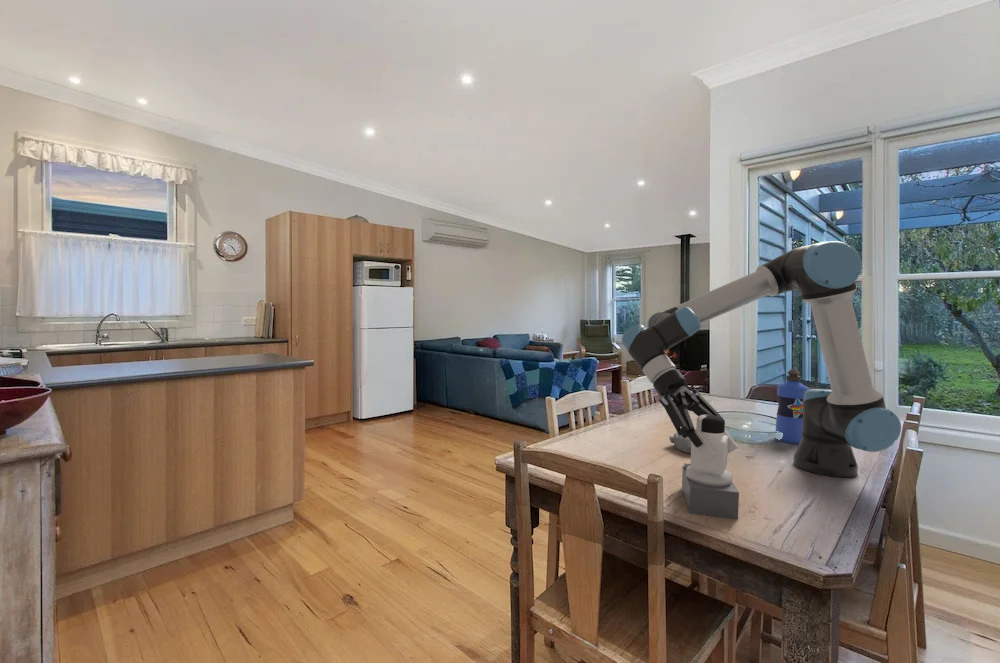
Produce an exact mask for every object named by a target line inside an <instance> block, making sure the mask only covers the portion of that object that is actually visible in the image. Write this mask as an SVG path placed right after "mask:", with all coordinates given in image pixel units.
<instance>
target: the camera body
mask: <svg viewBox="0 0 1000 663" xmlns="http://www.w3.org/2000/svg"><path fill="white" fill-rule="evenodd" d="M681 469H682V470H681V471H682V472H681V477H682V478H681V491H682V494H683V497H684V501H685V504H686V506H687V507H686V508H687V510H688V514H694V515H700V516H709V517H719V518H726V519H733V520H734V519H736V520H738V519H739V504H740V503H739V502H740V501H739V499H740V492H739V490H738V488H737V487H736V485H735V484H734V482H733V478H734V477H733V474H732V472H730V471H729V470H727V469H725V471H724V473H718V472H713V471H708V470H702V469H697V468H692V467H691V463H684V465H683V466H682V468H681Z"/></svg>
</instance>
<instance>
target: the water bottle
mask: <svg viewBox="0 0 1000 663" xmlns="http://www.w3.org/2000/svg"><path fill="white" fill-rule="evenodd" d="M800 374H801V372H800V371H799V370H797V369H796V368H795V369H794V368H792V369H789V370H788V371H787V375H785V376H786V377H785V378H786V381H785V382H783V383H780V384H778V385H777V388H776V394H777V403H778V404H777V405H778V407H777V410H776V411H777V412H776V417H775V418H776V420H775V421H776V422H775V432H776V431H779V432H782V433H783V437H782V439H780V441H779V442H781V443H785V444H790V445H791V444H792V445H799V443H800V441H801V439H802V423H803V398H804V393H805V391H807V390H809V389H810V388H809V387H808V386H807V385H804V384H802V383H801V379H802V376H800Z"/></svg>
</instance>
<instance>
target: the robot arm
mask: <svg viewBox="0 0 1000 663" xmlns="http://www.w3.org/2000/svg"><path fill="white" fill-rule="evenodd" d="M862 261H863V260H862V258H861V256H860V254H859V253H858V251H857V250H856V249H855V248H854V247H853V246H851V245H849V244H847V243H845V242H843V241H838V240H836V241H834V240H833V241H831V240H830V241H821V242H817V243H813V244H810V245H805V246H800V247H796V248H794V249H793V248H792V249H791V250H789V251H786V252H785V253H783V254H781V255H779V256H777V257H775V258H774V259H773V258H772V260H771V259H770V261H767V262H766V263H763V264H760V265H759V266H757V267H756V269H755V271H754V272H752V273H749V274H747V275H745V276H742V277H740V278H738V279H736V280H734V281H731V282H729V283H726V284H724V285H721V286H719V287H717V288H714V289H712V290H710V291H708V292H706V293H703V294H701V295H698V296H696V297H694V298H691V299H690V300H687V301H685V302H682V303H680V304H678V305H676V306H673V307H671V308H668V309H666V310H664V311H661V312H659V311H658V312H656V313H654V314H652V315H650V317H649V318H648V320H647V323H646V326H647V327H646V326H644V325H643V324H636V325H635V326H634V325H633V326H631V327H629V328H628V329H627V330H626V331H625V332H624V333H623V334H622V336H621V343H622V345H623V346H624V347H625V350H626V351H627V353H628V354H629V356H630V357H631V358H632V359H633V360H634V362H635V363H636V364H637V366H638V368H639V369H640V370H641V371H642V373H643V374H644V375H645V377H646V378H647V379H648V381H649V383H650V384H653V385H652V386H653V388H654V389H655V391H656V393H657V394H658V396H660V397H661V398H660V399H659V400H658V401H659V403H660V404H661V406H662V407H663V408H664V410H665V412H666V413H667V415H668V417H669V419H670V422H671V423H672V425H673V427H674V428H675V431H676V432H678V434H679V435H682V434H683V435H682V437H683V438H686V437H687V436H688V437H689V439H690V440H691V441H692V443H693V444H694V445H695V447H696V448H697V449H698V450H699V452H700V453H701V455H702V456H703V457H704V459H705V460H706V461H709V460H710V459H712V458H713V457H715V456H716V453H715V452H714V451H713V449H712V448H711V446H710V445H709V444H708V442H707V441H706V440H705V438H704V437H703V436H702V434H701V433H700V432H699V430H696V429H695V428H696V427H695V426H694V423H693V420H692V419H691V416H690V412H693V414H695V415H696V417H698V416H701V415H715V416H719V417H721V418H723V417H722V416H721V414H720V413H718V411H717V410H716V409H715V408H714V407H713V406H712V405H711V404H710V403H709V402H708V401H707V400H706V399H705V398H704V397H703V396H702V395H701V393H700V391H699V390H698V389H697V388H694V389H693V390H690V389H688V388H687V387H686V385H685V384H686V382H687V379H686V377H684V375H683V373H682V372H681V371H680V370H679V369H677V366H676V365H675V363H674V362H673V361H672V360H671V359H670V357H669V356H668V355H667V353H665V352H666V351H667V350H668V351H669V349H671V348H673V347H674V346H676V345H678V344H679V343H681V342H683V341H684V340H686V339H688V338H690V337H692V336H693V335H694V334H695V333H697V332H698V331H700V330H701V327H702V324H703V323H706V322H707V321H709V320H712V319H715V318H717V317H719V316H722V315H724V314H726V313H729V312H731V311H734V310H736V309H738V308H741V307H743V306H745V305H748V304H750V303H752V302H753V303H754V302H755V301H757V300H760V299H762V298H765V297H767V296H768V297H769V296H770V297H771V298H772V297H775V296H779V295H781V294H783V293H787V292H792V291H793V292H794V291H799V293H800V297H801V301H803V302H804V303H807V304H808V305H809V306H810V309H811V312H812V316H813V321H814V324H815V328H816V334H817V337H818V341H819V346H820V350H821V353H822V357H823V362H824V365H825V371H826V374H827V377H828V381H829V385H830V386H829V387H830V389H823V388H821V389H820V388H818V389H817V388H815V389H814V388H811V389H810V388H809V390H807V391H805V393H804V398H803V423H802V439H801V441H800V443H799V444H797V445H798V446H797V448H796V450H795V452H794V454H793V464H794V465H795V466H796V467H798V468H800V469H802V470H804V471H807V472H810V473H814V474H817V475H822V476H829V477H836V478H850V477H851V478H852V477H856V476H857V475H858V471H859V468H858V467H859V466H858V463H857V460H856V456H855V454H854V450H853V448H854V449H857V450H861V451H864V452H868V453H869V452H870V453H877V452H881V451H885V450H887V449H889V448H890V447H892V446H893V445H894V443H895V442H896V441H897V440H898V439H899V438H900V435H901V433H902V423H901V421H900V419H899V417H898V416H897V414H896V413H894V412H893V411H892V410H890V409H888V408H886V404H885V400H884V399H885V398H884V396H883V394H882V392H881V391H879V390H876V389H875V388H874V387H873V383H872V378H871V374H870V371H869V365H868V362H867V358H866V354H865V349H864V345H863V341H862V338H861V333H860V329H859V324H858V321H857V317H856V313H855V309H854V305H853V301H852V296H853V295H855V293H856V291H857V290H858V288H857V285H856V284H857V283H856V280H858V278H859V275H860V274H861V273H862V270H863V269H862V268H863V262H862ZM695 430H696V431H695ZM694 431H695V432H694ZM724 435H727V436H728V454H731V453H732V452H734V451H735V450H737V449H739V446H738V444H737V443H736V442H735V440H734V438H732V436H731V435H730V434H729V433H728V432H727V430H726V429H725V433H724Z"/></svg>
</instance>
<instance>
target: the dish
mask: <svg viewBox="0 0 1000 663" xmlns="http://www.w3.org/2000/svg"><path fill="white" fill-rule="evenodd" d="M695 431H696V429H695ZM695 431H694V432H695ZM682 435H683V434H682ZM682 435H679V434H678V432H677V431H676V432H674V433H673V436H672V435H670V436H669V442H670V443H671V444H673V445H674V448H676V449H677V450H678V451H680V452H683V453H688V454H691V440H690V439H689V437H688V436H687V437H686V438H683V437H682Z"/></svg>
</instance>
